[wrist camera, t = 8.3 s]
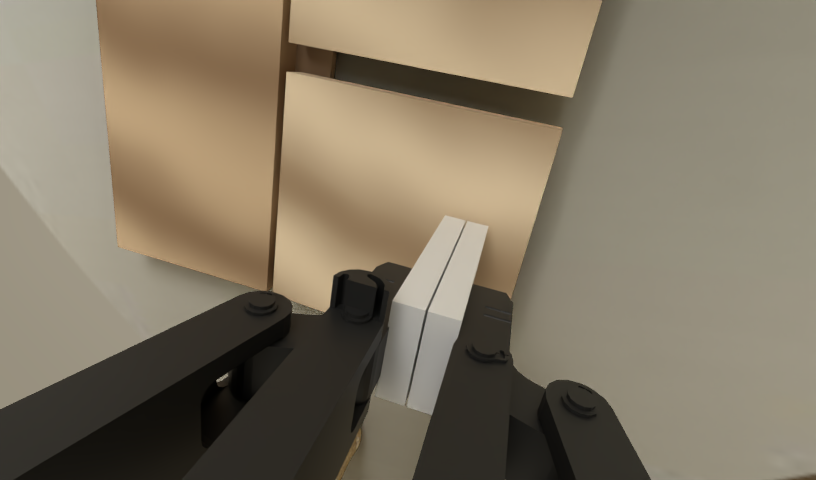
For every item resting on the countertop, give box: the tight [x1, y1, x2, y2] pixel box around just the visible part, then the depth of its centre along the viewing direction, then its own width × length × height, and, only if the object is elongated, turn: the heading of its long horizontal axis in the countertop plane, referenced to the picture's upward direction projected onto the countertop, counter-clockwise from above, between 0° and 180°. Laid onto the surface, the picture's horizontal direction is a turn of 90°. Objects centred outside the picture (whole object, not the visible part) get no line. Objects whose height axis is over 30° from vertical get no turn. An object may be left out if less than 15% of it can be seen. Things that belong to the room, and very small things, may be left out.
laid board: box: [96, 0, 337, 291], centre depth 17 cm, size 20×10×2 cm, turn 170°
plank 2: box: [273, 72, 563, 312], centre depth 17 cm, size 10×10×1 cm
